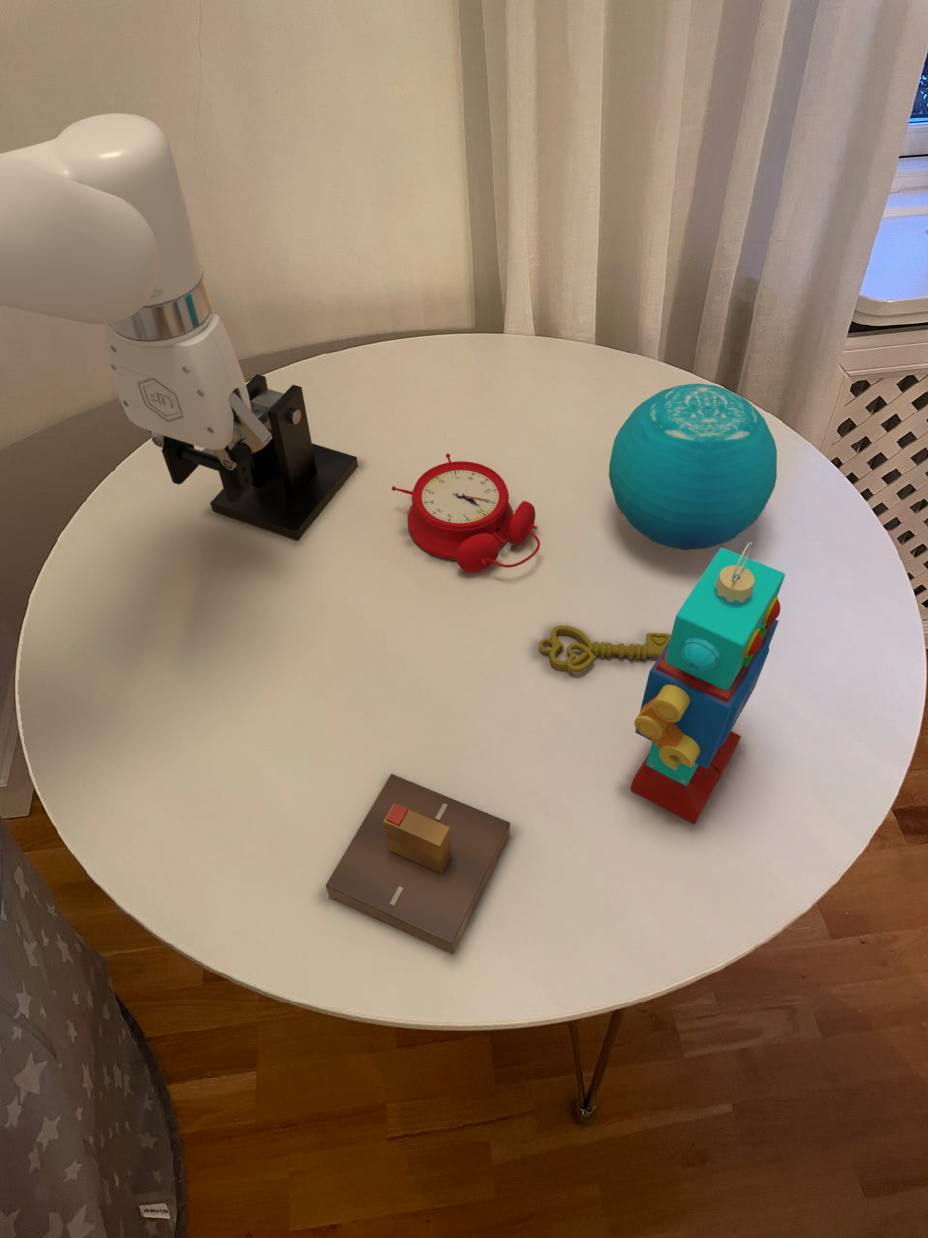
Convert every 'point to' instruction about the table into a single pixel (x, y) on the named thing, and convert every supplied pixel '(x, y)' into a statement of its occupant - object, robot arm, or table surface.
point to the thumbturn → (418, 838)
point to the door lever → (210, 457)
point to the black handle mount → (287, 471)
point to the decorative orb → (693, 466)
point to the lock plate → (420, 867)
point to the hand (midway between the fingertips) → (213, 481)
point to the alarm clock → (467, 515)
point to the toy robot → (705, 681)
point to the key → (597, 648)
